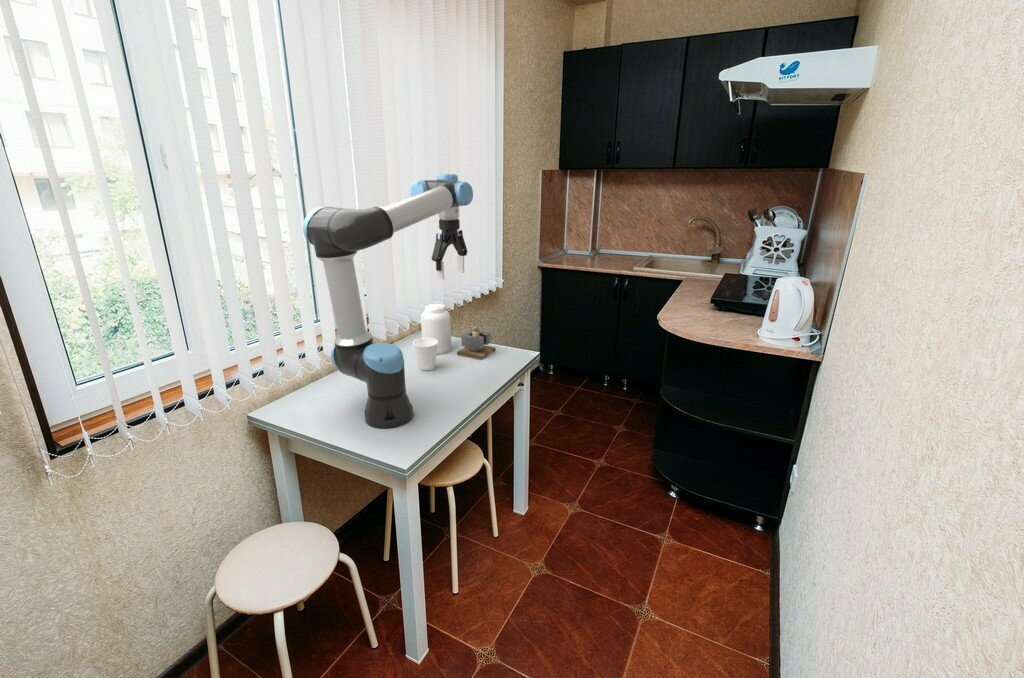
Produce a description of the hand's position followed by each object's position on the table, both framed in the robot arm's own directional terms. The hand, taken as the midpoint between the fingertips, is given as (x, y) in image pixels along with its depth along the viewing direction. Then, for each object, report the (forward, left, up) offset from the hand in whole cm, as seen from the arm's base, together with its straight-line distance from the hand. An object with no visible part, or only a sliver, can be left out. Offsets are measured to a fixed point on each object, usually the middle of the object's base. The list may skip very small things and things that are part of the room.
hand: (451, 275), depth 181 cm
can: (+9, +15, -37) cm, 40 cm away
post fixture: (+14, -2, -36) cm, 39 cm away
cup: (-9, +7, -37) cm, 38 cm away
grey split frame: (+14, -2, -32) cm, 35 cm away
